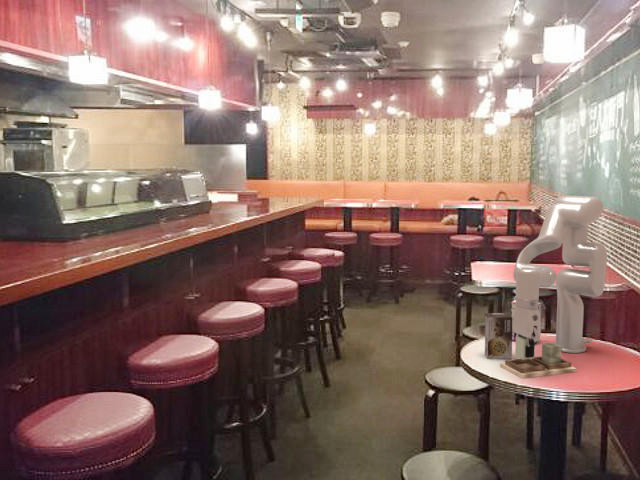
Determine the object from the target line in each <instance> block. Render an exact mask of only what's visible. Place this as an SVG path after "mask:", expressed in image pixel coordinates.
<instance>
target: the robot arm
mask: <svg viewBox="0 0 640 480" xmlns="http://www.w3.org/2000/svg"><path fill="white" fill-rule="evenodd" d="M603 209H604V205H603V202H602V199H600V198H599V197H597V196H593V195H591V196H588V195H586V196H585V195H560V196H558V197H557V198H556V199H554V203H553V204H551V205H549V207H548V208H547V212H546V214H545V217H544V220H543V223H542V225H541V228H540V231H539V235H538V237H537V238H535V239H534V240H532V241H531V242H530V243H528V244H527V245H526V246H525V247H524V248H523V249H522V250H521V251H520V253H519V254H518V256H517V258H516V259H517V260H516V261H515V265H514V268H513V273H512V274H513V279H514V281H515V284H516V285H515V300H516V304H515V310H514V317H513V328H512V331H513V333H514V336H515V341H514V342H516V336H524V337H526V342H527V346H526V348H525V357H526V358H529V357H535V349H534V346H535V347H536V345H537V344H536V343H537V342H539V343H540V341H541V335H542V324H541V323H542V322H541V321H542V319H540V311H539V309H538V303H539V301H540V300H539V298H540V297H539V295H540V288H544V289H545V288H550V287H552V286H553V285H554V284H555V285H556V293H557V294H556V296H557V298H556V299H557V304H556V305H557V306H556V307H557V308H556V328H555V341H554V342H552V343H554V344H557V345H559V346H561V353H568V354H569V353H570V354H579V353H584V352H585V351H587V346H586V345H585V344H591V343H592V342H593V339H592V338H591V337H586V338H585V337H583V329H584V310H585V309H584V308H585V306H584V303H583V302H584V301H583V300H582V298H581V296H586V297H594V298H597V297H600V296H601V295H603V293H604V291H605V286H606V276H607V274H606V273H607V265H608V251H607V248H606V247H605V245H604V244H602V243H600V242H591V241H588V230H589V228H588V226H589V225H590V224H592V223H594V222H595V221H596V220H597V219H599V218H600V217H601V215H602V213H603ZM560 247H562V250H561V258H562V261H563V262H564V263H565V264H566V265H569V266H575V267H583V268H585V267H586V268H589V269H590V270H584V269H578V268H562V269H560V270H559V271H558V272H557V273H556V271H555V269H554V268H553V267H551V266H547V265H538V264H532V263H531V261H532V260H533V259H534V258H536V257H538V256H539V255H541V254H545V253H548V252H551V251H554V250H556V249H557V250H558V249H559V248H560ZM531 335H532V337H531ZM530 339H532V340H531V341H530Z"/></svg>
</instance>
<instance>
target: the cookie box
mask: <svg viewBox="0 0 640 480" xmlns="http://www.w3.org/2000/svg"><path fill="white" fill-rule="evenodd" d="M484 315H485V316H484V317H485V318H484V319H485V320H484V321H485V323H484V324H485V326H484V355H485V357H486V359H488V360H489V359H493V360H495V359H496V360H513V359H512V358H513V357H512V356H513V341H512V319H513V317H512V316H511V313H509V312H504V313H503V312H485V313H484Z"/></svg>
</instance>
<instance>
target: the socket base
mask: <svg viewBox="0 0 640 480" xmlns="http://www.w3.org/2000/svg"><path fill="white" fill-rule="evenodd" d="M541 344H542V346H541V347H542V348H541V356H534V359H525V360H523V359H520V358H518V359H517V358H515V359H505V361H504V362H500V364H499V367H500V368H502V369H503V370H506V371H508V372H509V373H511V374H514V375H515V376H517V377H519V378H521V379H529V378H530V379H531V378H535V377H537V378H538V377H545V376H553V375H561V374H569V373H575V372H577V371H578V370H577V368H576V367H575V366H572V365H573V364H572V362H570V361H569V360H565V359H563V358H562V352H561V346H559V345H557V344H554V343H553V342H551V343H550V342H549V343H541Z"/></svg>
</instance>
